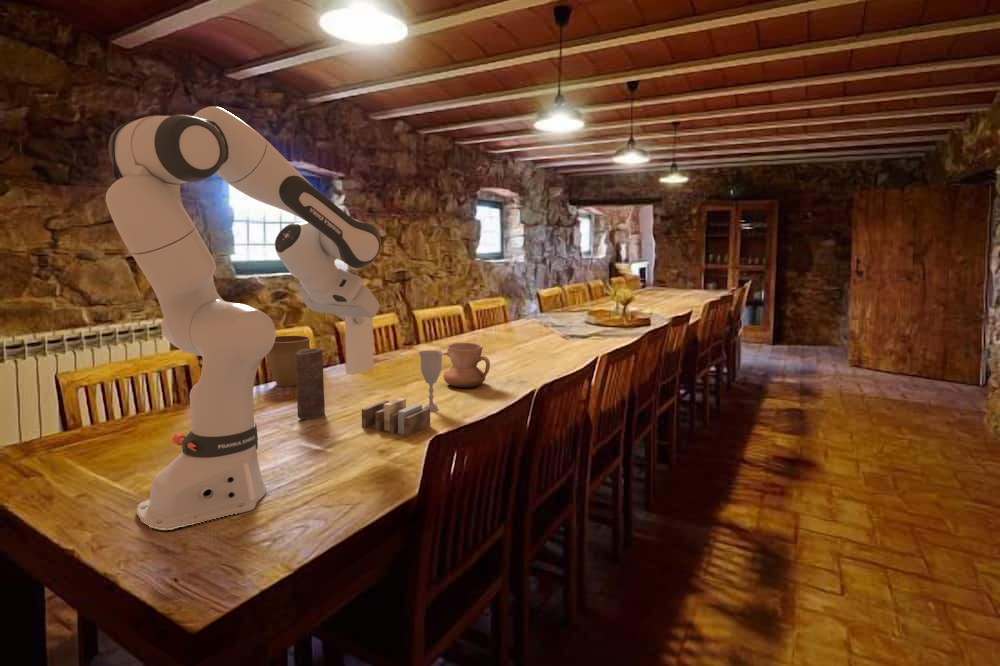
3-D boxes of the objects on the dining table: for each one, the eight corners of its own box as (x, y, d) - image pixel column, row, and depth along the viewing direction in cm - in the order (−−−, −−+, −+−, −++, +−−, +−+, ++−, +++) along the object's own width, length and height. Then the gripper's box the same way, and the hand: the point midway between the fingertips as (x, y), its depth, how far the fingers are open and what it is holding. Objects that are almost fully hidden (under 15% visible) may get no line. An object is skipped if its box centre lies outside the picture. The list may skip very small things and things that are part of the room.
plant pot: (320, 382, 206) (318, 337, 203) (284, 392, 194) (282, 344, 191) (292, 376, 214) (290, 333, 211) (256, 385, 201) (253, 339, 199)
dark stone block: (316, 424, 162) (314, 352, 159) (292, 422, 164) (289, 351, 160) (329, 416, 169) (327, 347, 166) (306, 414, 171) (304, 346, 168)
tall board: (352, 374, 146) (351, 310, 143) (346, 373, 147) (344, 310, 144) (373, 368, 153) (372, 307, 150) (367, 367, 154) (366, 306, 151)
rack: (408, 440, 151) (407, 418, 150) (362, 431, 157) (361, 409, 156) (430, 429, 159) (430, 408, 158) (385, 420, 166) (385, 400, 165)
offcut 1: (390, 431, 155) (389, 405, 154) (384, 429, 156) (383, 404, 155) (406, 423, 161) (405, 398, 160) (400, 422, 162) (400, 397, 161)
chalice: (414, 413, 174) (413, 353, 171) (427, 407, 180) (427, 349, 177) (434, 417, 170) (435, 356, 167) (447, 411, 176) (448, 352, 173)
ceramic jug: (432, 386, 205) (433, 346, 202) (453, 377, 217) (454, 339, 215) (478, 394, 197) (479, 352, 194) (497, 384, 210) (498, 345, 207)
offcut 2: (404, 434, 152) (404, 412, 151) (398, 433, 153) (397, 411, 152) (422, 426, 159) (422, 404, 158) (416, 424, 160) (415, 403, 159)
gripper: (286, 292, 139) (317, 327, 150) (353, 298, 130) (382, 335, 141) (299, 272, 143) (329, 308, 153) (366, 277, 133) (393, 315, 144)
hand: (355, 321), depth 147 cm, fingers closed on tall board, 2 cm apart
